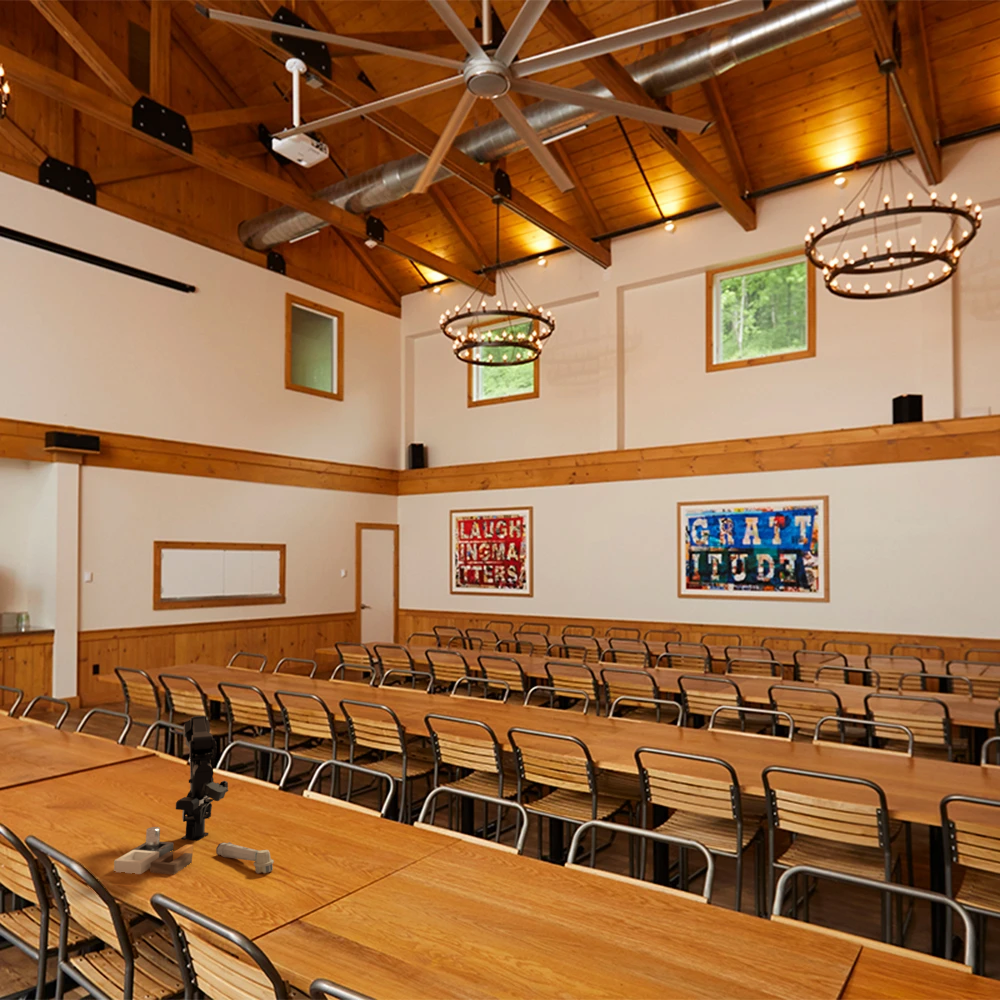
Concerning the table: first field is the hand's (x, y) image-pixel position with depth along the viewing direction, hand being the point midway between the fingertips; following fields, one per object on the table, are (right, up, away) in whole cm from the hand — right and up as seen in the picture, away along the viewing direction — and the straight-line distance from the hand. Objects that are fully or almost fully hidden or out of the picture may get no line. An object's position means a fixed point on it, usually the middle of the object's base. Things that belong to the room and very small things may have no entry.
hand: (199, 823), depth 253 cm
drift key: (-2, -8, -9) cm, 12 cm away
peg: (-13, -8, -4) cm, 16 cm away
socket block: (-13, -8, -4) cm, 16 cm away
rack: (-13, -7, -15) cm, 21 cm away
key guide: (-3, -7, -14) cm, 16 cm away
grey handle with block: (+18, -8, -11) cm, 23 cm away
